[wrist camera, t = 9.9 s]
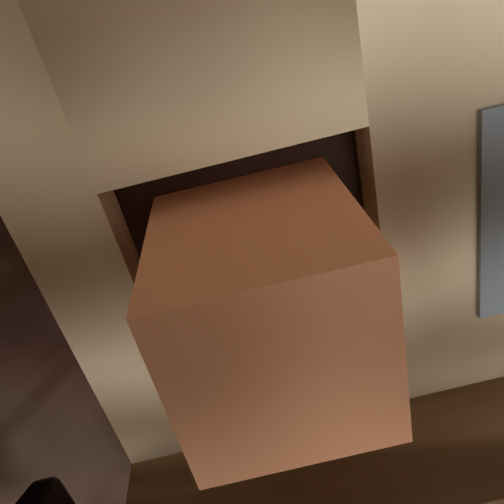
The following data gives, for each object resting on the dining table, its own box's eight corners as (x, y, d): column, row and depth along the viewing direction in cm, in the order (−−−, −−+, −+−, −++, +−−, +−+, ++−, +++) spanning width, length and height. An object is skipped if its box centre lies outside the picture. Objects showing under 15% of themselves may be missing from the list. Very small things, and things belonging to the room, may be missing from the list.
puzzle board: (628, 348, 18) (779, 473, 14) (152, 460, 19) (135, 620, 14) (765, -311, 10) (1309, -610, 5) (-115, -79, 10) (-395, -145, 5)
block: (343, 296, 16) (412, 441, 11) (199, 330, 16) (199, 490, 11) (322, 156, 14) (398, 255, 8) (153, 196, 14) (125, 319, 9)
